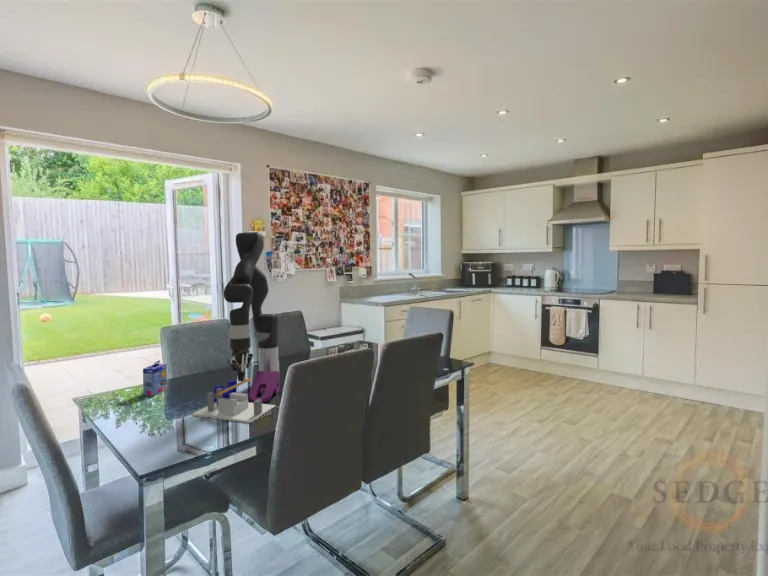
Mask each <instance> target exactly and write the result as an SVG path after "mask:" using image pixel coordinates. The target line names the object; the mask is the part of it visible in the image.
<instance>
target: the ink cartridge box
mask: <svg viewBox="0 0 768 576" xmlns="http://www.w3.org/2000/svg"><path fill="white" fill-rule="evenodd" d="M167 374H168V373H167V363H161V360H157V361H154V364H151V365H149V366H146V367H144V368H143V369H142V385H143V386H142V387H143V389H142V390H143V393H142V394H143V396H149V397H150V396H151V397H155V396H157V395H160V394H161V393H163V392H165V391H167V387H168V385H167V383H168V382H167V380H168V379H167Z"/></svg>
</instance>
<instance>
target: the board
mask: <svg viewBox="0 0 768 576" xmlns="http://www.w3.org/2000/svg"><path fill="white" fill-rule="evenodd" d="M221 391H222V389H221V388H217V389H216V393H219V392H221ZM206 397H207V405H206V406H204V407H203V408H201V409H199V410H197V411H195V412H193V413H192V416H193V417H203V418H208V417H211V419H215V418H219V419H218V420H226V421H230V422H231V421H232V422H240V423H248V424H251V422H252V423H253V422H254V420H255V421H256V420H258V419H260V418H261V417H263V416H264V415H266V414H267V413H269V412H270V411H272V410H273V409H272V408H274V407H275V408H276V404H268V403H262V399H257V400H256V401H254V403H252V402H251V401H250V402H249V393H241V392H236V393H232V394H230V397H229V398H223V394H221V395H219V396H218V397H216V399H217V401H214V391H212V392H211V391H209V392H207V393H206ZM275 408H274V409H275ZM271 409H272V410H271ZM269 410H270V411H269ZM268 411H269V412H268ZM266 412H267V413H266ZM265 413H266V414H265ZM263 414H264V415H263ZM262 415H263V416H262ZM260 416H261V417H260Z"/></svg>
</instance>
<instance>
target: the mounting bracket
mask: <svg viewBox="0 0 768 576" xmlns="http://www.w3.org/2000/svg"><path fill="white" fill-rule="evenodd" d="M280 390H281V377H280V370H279V371H259V370H258V371H257V373H256V375H255V377H254V379H253V383H252V384H251V386H250V390H249V392H248V399H249V401H250V402H251V403H254V401H256V400H257V399H262V404H265V403H267V402H268V401H270V400H271V398H272V397H273V395H277V393H278V392H279V393H280ZM263 391H264V392H263ZM262 392H263V393H262ZM261 393H262V394H261ZM273 393H274V394H273ZM258 395H262V396H261V397H258ZM264 402H265V403H264Z"/></svg>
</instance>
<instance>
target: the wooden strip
mask: <svg viewBox="0 0 768 576" xmlns="http://www.w3.org/2000/svg"><path fill="white" fill-rule="evenodd" d="M252 380H253V378H252V376H251V377H248V378H245V380H244V381H239V382H238V383H237V384H236V385H233V386H231V387H229V388H227V389H225V390H223V391H221V392H219V393H216V394H214V398H215V397H218V396H219V395H221V394H223V393H225V392H227V391H229V390H231V389H233V388H235V387H236V388H238V387H240V386H241V385H244V384H246V383H248V382H250V381H252Z"/></svg>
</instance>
